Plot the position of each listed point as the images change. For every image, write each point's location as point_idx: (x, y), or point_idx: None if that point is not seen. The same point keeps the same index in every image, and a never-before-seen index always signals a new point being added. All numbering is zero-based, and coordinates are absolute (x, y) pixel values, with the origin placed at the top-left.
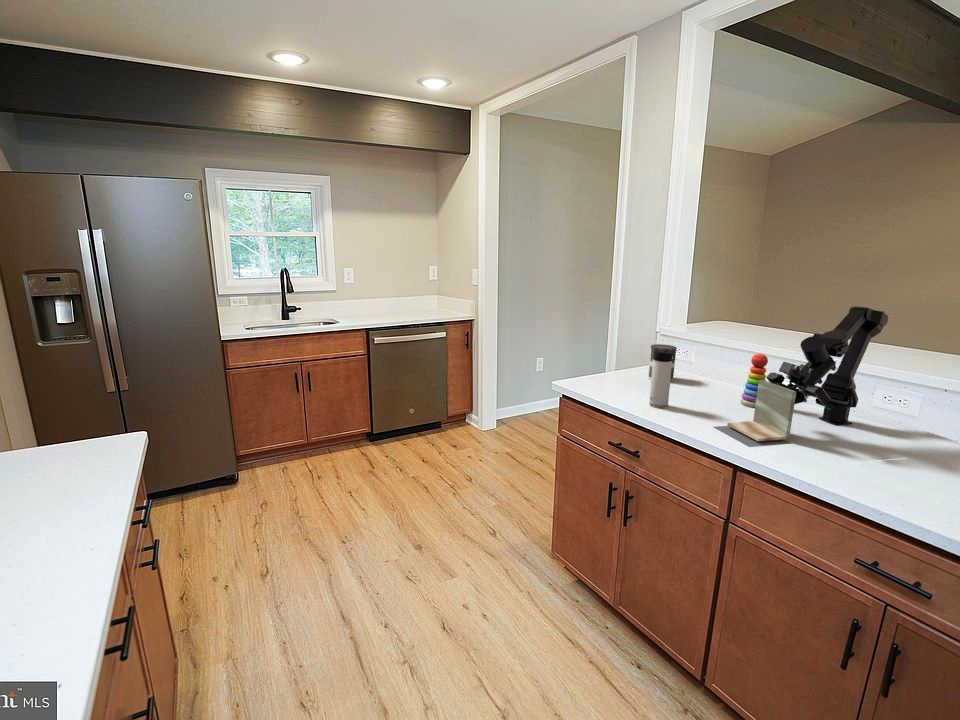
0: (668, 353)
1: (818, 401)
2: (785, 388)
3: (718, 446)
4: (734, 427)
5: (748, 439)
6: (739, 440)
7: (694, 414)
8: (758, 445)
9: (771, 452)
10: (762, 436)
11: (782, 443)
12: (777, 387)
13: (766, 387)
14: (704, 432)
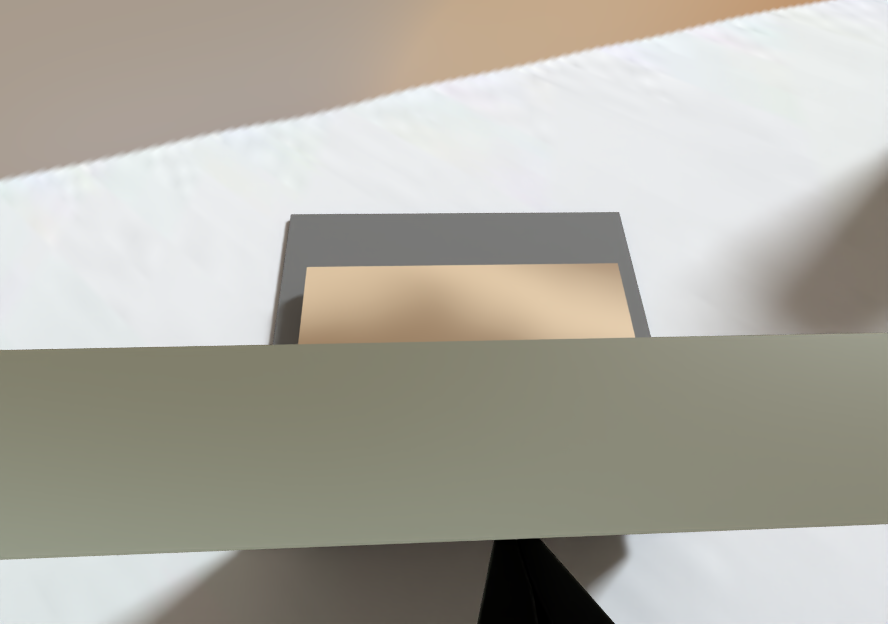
0: None
1: None
2: (189, 450)
3: (352, 107)
4: (542, 268)
5: None
6: (387, 223)
7: (870, 248)
8: (290, 272)
9: (195, 290)
10: (331, 317)
11: None
12: (527, 350)
13: None
14: (542, 144)
